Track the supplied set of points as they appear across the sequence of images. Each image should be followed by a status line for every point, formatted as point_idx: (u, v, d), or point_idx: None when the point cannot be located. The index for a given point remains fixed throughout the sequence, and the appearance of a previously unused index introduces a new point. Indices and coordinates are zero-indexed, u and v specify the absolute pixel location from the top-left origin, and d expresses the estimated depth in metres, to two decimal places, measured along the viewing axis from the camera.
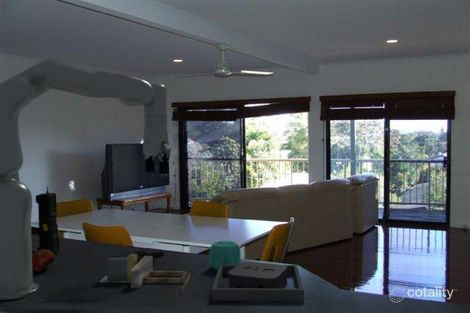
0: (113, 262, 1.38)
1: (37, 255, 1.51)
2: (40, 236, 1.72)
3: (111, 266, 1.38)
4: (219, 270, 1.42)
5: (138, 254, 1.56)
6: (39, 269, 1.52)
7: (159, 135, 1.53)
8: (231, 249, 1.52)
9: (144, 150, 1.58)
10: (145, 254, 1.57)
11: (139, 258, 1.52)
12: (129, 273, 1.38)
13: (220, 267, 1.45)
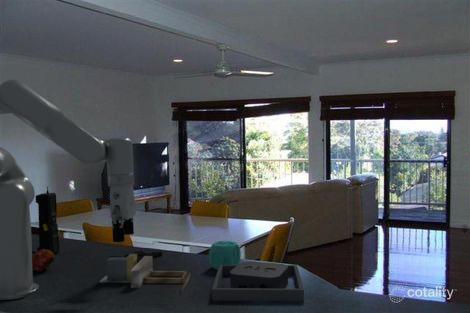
0: (113, 262, 1.38)
1: (37, 255, 1.51)
2: (40, 236, 1.72)
3: (111, 266, 1.38)
4: (219, 270, 1.42)
5: (137, 254, 1.56)
6: (39, 269, 1.52)
7: None
8: (231, 249, 1.52)
9: (129, 213, 1.36)
10: (144, 254, 1.57)
11: (137, 258, 1.52)
12: (129, 273, 1.38)
13: (220, 267, 1.45)
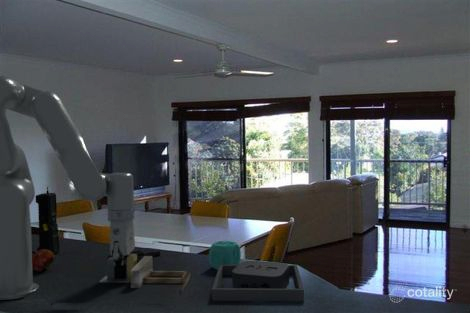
0: (113, 262, 1.38)
1: (37, 255, 1.51)
2: (40, 236, 1.72)
3: (111, 266, 1.38)
4: (219, 270, 1.42)
5: None
6: (39, 269, 1.52)
7: None
8: (231, 249, 1.52)
9: (128, 249, 1.36)
10: (141, 254, 1.58)
11: None
12: (129, 273, 1.38)
13: (220, 267, 1.45)
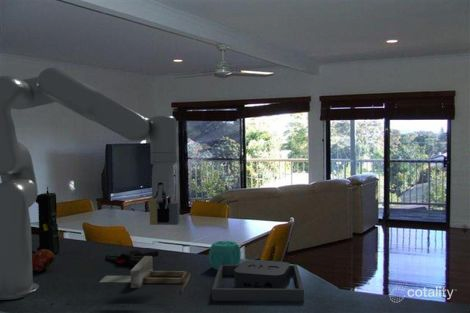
0: None
1: (37, 255, 1.51)
2: (40, 236, 1.72)
3: None
4: (219, 270, 1.42)
5: (132, 253, 1.56)
6: (39, 269, 1.52)
7: (155, 175, 1.33)
8: (231, 249, 1.52)
9: None
10: (139, 254, 1.58)
11: (133, 257, 1.53)
12: None
13: (220, 267, 1.45)
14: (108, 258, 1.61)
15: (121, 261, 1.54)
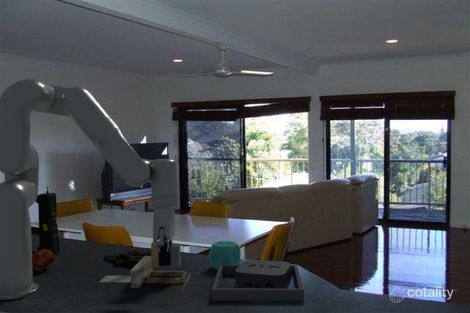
0: None
1: (37, 255, 1.51)
2: (40, 236, 1.72)
3: None
4: (219, 270, 1.42)
5: (131, 253, 1.57)
6: (39, 269, 1.52)
7: (156, 219, 1.33)
8: (231, 249, 1.52)
9: None
10: (138, 253, 1.58)
11: (131, 257, 1.53)
12: None
13: (220, 267, 1.45)
14: (107, 258, 1.61)
15: (119, 261, 1.54)
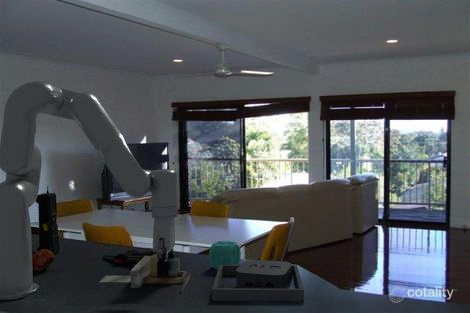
0: None
1: (37, 255, 1.51)
2: (40, 236, 1.72)
3: None
4: (219, 270, 1.42)
5: (129, 253, 1.57)
6: (39, 269, 1.52)
7: (156, 230, 1.33)
8: (231, 249, 1.52)
9: None
10: (136, 253, 1.58)
11: (130, 257, 1.53)
12: None
13: (220, 267, 1.45)
14: (105, 258, 1.61)
15: (118, 261, 1.54)
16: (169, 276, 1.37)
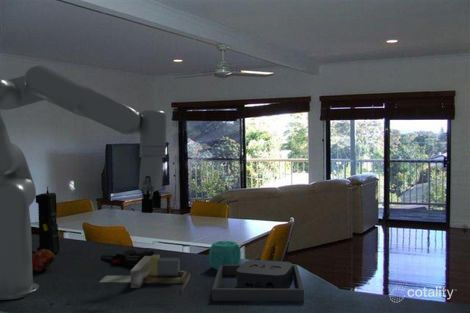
0: None
1: (37, 255, 1.51)
2: (40, 236, 1.72)
3: None
4: (219, 270, 1.42)
5: (128, 253, 1.57)
6: (39, 269, 1.52)
7: (143, 168, 1.34)
8: (231, 249, 1.52)
9: None
10: (135, 253, 1.59)
11: (128, 257, 1.54)
12: None
13: (220, 267, 1.45)
14: (104, 258, 1.61)
15: (116, 261, 1.55)
16: (169, 276, 1.37)
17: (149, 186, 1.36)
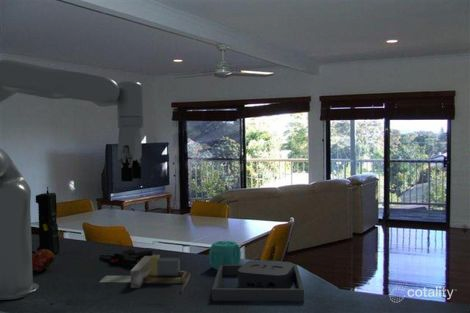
0: None
1: (37, 255, 1.51)
2: (40, 236, 1.72)
3: None
4: (219, 270, 1.42)
5: (126, 253, 1.57)
6: (39, 269, 1.52)
7: (121, 138, 1.38)
8: (231, 249, 1.52)
9: None
10: (133, 253, 1.59)
11: (126, 257, 1.54)
12: None
13: (220, 267, 1.45)
14: (102, 257, 1.62)
15: (115, 260, 1.55)
16: (169, 276, 1.37)
17: (128, 155, 1.40)
